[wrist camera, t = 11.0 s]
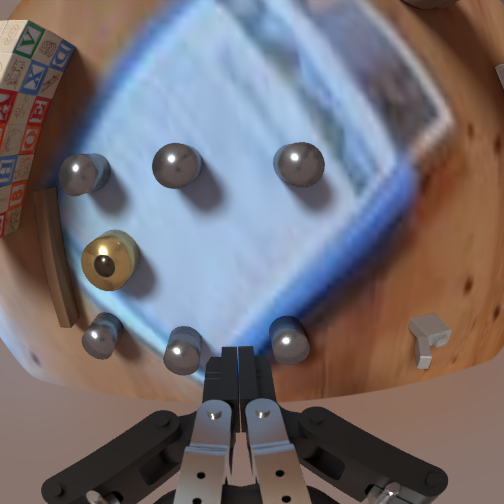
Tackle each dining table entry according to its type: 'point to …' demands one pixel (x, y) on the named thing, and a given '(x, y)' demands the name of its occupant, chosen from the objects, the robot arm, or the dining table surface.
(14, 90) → the stack of blocks
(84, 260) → the gold short domed cylinder
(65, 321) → the bar
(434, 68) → the dining table surface
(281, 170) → the spacers
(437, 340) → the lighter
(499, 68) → the small box
